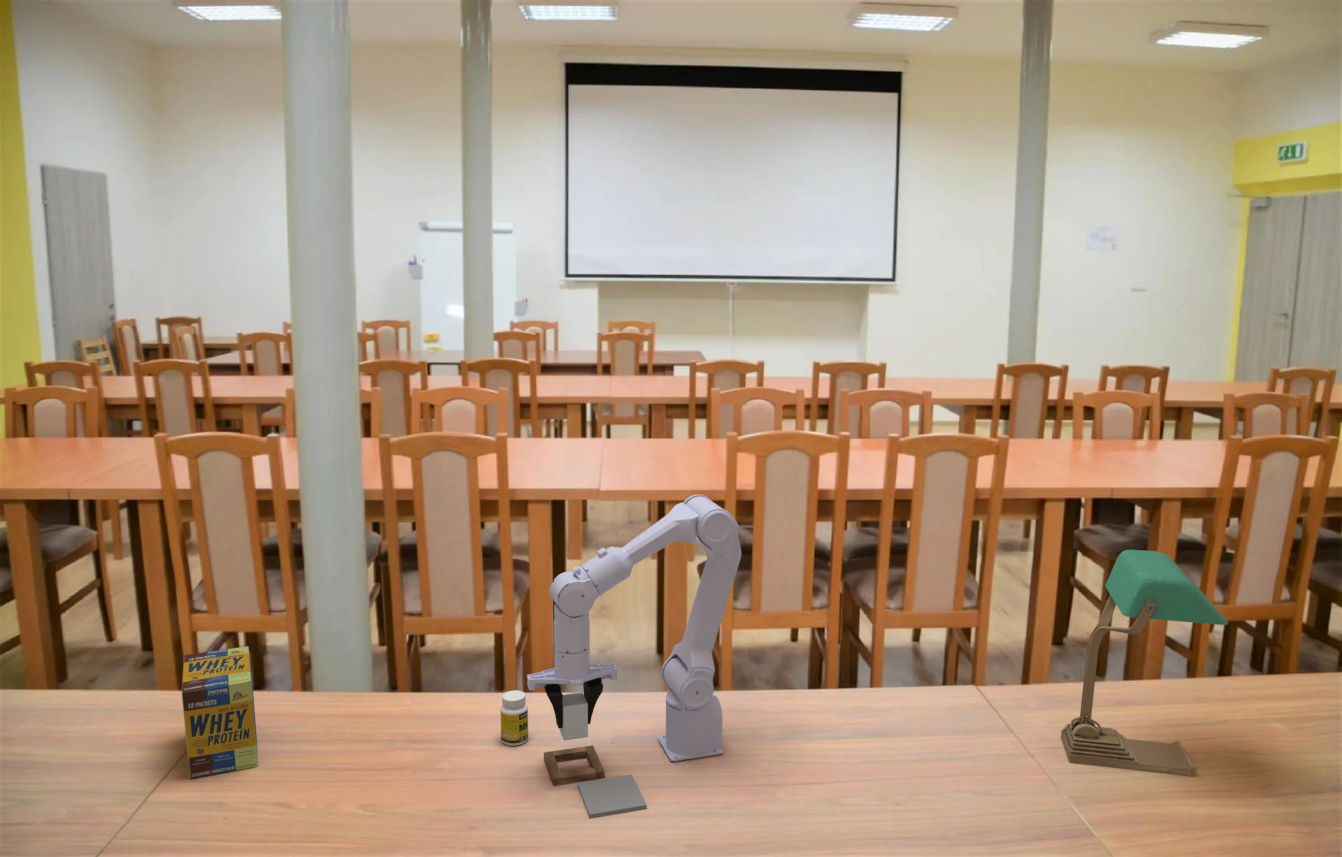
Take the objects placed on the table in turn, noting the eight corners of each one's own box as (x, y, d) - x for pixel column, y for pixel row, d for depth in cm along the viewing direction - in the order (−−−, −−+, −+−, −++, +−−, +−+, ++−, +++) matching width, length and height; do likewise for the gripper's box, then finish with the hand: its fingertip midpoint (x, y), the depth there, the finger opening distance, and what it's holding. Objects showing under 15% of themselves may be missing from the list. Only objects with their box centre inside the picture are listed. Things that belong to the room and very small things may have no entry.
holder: (593, 751, 171) (593, 745, 171) (604, 777, 163) (604, 771, 163) (543, 758, 169) (543, 752, 169) (553, 785, 161) (553, 779, 161)
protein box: (189, 780, 162) (180, 692, 158) (191, 736, 175) (183, 653, 172) (259, 767, 166) (252, 680, 163) (255, 724, 180) (249, 643, 176)
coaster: (631, 777, 163) (631, 774, 163) (646, 808, 155) (646, 804, 155) (577, 786, 161) (577, 783, 161) (589, 818, 152) (589, 814, 152)
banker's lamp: (1057, 727, 181) (1075, 543, 174) (1181, 740, 177) (1205, 552, 170) (1073, 774, 166) (1093, 574, 159) (1209, 789, 162) (1236, 584, 154)
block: (582, 725, 167) (582, 692, 166) (588, 737, 164) (587, 703, 162) (559, 728, 166) (558, 695, 165) (563, 740, 162) (563, 706, 161)
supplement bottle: (522, 748, 172) (521, 703, 171) (497, 745, 173) (495, 700, 171) (532, 734, 177) (531, 690, 175) (506, 731, 178) (505, 687, 176)
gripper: (531, 662, 156) (533, 741, 159) (621, 651, 160) (622, 728, 163) (524, 643, 162) (526, 720, 165) (611, 633, 167) (611, 708, 169)
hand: (573, 723), depth 164 cm, fingers closed on block, 4 cm apart
